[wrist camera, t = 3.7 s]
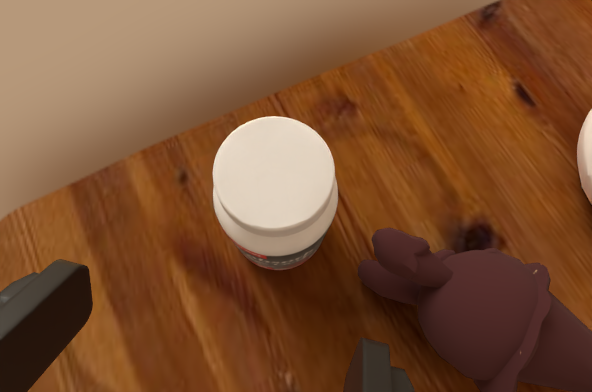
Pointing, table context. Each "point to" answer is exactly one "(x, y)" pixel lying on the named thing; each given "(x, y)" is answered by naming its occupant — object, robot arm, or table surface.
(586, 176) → the teapot
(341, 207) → the table surface
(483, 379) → the icecream
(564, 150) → the table surface
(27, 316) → the robot arm
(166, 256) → the table surface
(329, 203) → the pill bottle
